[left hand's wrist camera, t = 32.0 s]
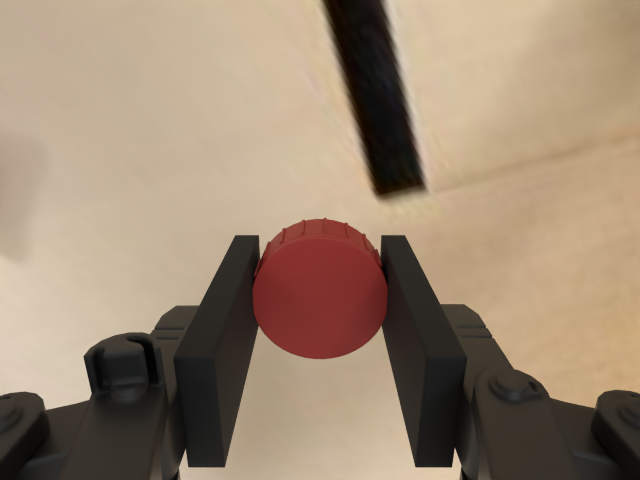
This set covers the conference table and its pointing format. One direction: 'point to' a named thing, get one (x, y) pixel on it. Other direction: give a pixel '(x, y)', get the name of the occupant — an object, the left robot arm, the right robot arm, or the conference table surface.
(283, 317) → the cap
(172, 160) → the conference table surface
